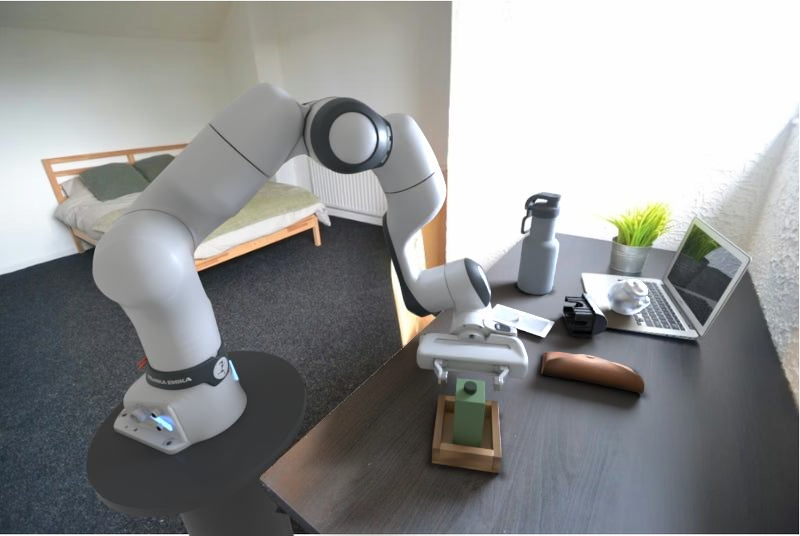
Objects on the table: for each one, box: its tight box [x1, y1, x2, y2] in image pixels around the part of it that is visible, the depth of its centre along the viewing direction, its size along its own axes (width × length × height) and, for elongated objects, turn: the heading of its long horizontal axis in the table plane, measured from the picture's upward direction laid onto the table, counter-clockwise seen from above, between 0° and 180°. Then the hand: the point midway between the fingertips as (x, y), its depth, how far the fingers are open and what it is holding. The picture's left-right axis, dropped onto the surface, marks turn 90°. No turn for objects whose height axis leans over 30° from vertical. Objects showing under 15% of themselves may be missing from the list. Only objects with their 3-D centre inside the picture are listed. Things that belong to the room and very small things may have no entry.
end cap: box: [562, 292, 609, 338], centre depth 90 cm, size 10×7×7 cm
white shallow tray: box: [491, 303, 556, 338], centre depth 93 cm, size 8×15×2 cm, turn 53°
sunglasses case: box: [540, 351, 645, 395], centre depth 75 cm, size 18×7×7 cm
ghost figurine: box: [606, 278, 651, 316], centre depth 95 cm, size 9×10×10 cm
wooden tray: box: [431, 393, 503, 474], centre depth 62 cm, size 10×11×4 cm
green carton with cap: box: [453, 377, 486, 448], centre depth 61 cm, size 4×5×11 cm
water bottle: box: [516, 191, 562, 296], centre depth 104 cm, size 10×10×28 cm
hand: (470, 384), depth 64 cm, fingers open, 8 cm apart
